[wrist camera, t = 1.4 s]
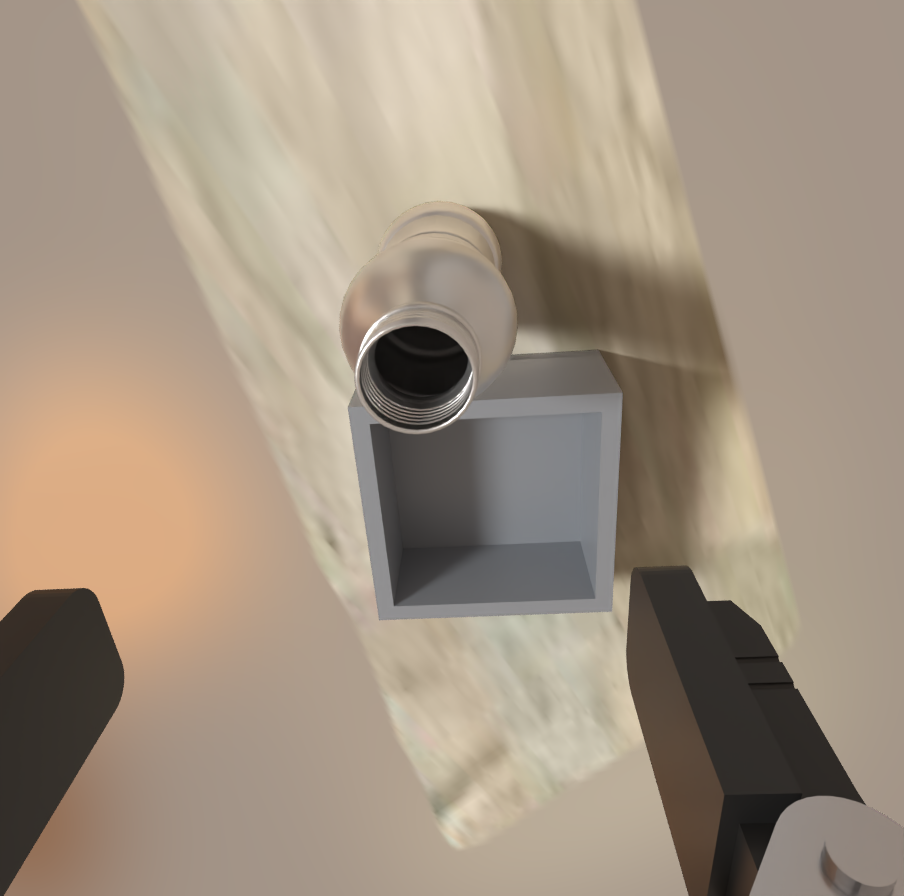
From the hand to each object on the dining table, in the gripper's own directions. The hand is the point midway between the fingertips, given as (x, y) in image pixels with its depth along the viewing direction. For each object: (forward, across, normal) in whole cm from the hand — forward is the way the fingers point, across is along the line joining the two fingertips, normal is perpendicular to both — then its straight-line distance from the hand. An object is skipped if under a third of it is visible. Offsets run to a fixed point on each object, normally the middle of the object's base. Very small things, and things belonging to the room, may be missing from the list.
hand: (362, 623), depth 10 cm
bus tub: (+31, -2, +13) cm, 33 cm away
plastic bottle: (+31, 0, 0) cm, 31 cm away
